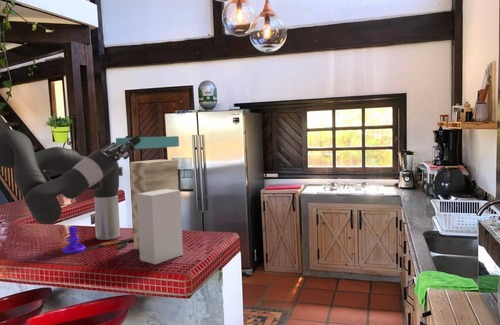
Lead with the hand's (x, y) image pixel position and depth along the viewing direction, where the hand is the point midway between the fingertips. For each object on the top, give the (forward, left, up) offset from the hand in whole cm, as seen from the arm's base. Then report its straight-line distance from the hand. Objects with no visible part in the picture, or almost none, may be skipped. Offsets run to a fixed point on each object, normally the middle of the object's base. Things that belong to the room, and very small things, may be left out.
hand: (134, 138), depth 126 cm
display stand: (-12, +17, -41) cm, 46 cm away
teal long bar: (0, +6, -3) cm, 7 cm away
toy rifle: (-25, +10, -42) cm, 50 cm away
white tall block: (0, +9, -41) cm, 42 cm away
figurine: (-34, -4, -41) cm, 54 cm away
